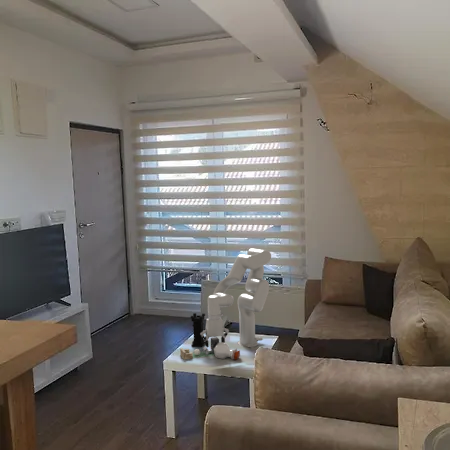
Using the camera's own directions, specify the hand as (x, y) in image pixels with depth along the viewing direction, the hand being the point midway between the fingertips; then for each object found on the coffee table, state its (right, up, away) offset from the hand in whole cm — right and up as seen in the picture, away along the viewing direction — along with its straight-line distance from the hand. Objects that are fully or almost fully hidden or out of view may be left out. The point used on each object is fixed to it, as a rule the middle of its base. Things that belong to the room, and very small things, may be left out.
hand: (215, 345), depth 275 cm
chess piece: (-10, -5, +14) cm, 18 cm away
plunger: (-2, -4, 0) cm, 4 cm away
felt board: (-7, -6, -2) cm, 10 cm away
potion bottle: (+7, -6, -8) cm, 12 cm away
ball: (-10, -3, -4) cm, 11 cm away
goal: (-16, -5, -6) cm, 17 cm away
